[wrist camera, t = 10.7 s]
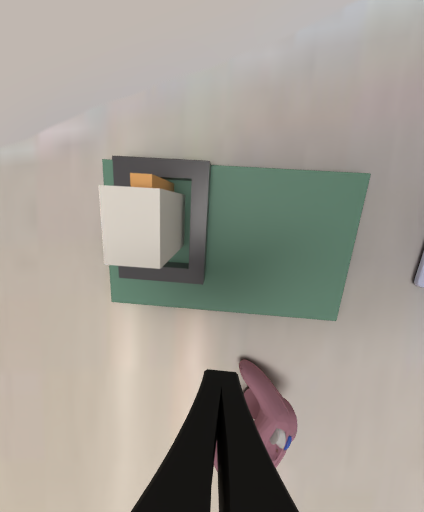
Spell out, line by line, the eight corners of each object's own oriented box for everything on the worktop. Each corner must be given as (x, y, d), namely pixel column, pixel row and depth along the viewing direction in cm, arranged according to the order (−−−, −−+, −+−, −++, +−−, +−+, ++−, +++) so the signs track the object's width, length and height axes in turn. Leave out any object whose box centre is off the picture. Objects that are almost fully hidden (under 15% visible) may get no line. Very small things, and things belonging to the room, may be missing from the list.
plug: (185, 184, 16) (159, 170, 10) (184, 245, 17) (160, 268, 11) (147, 181, 16) (97, 166, 10) (148, 242, 17) (104, 264, 11)
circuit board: (361, 175, 16) (370, 173, 15) (330, 315, 19) (336, 321, 18) (109, 161, 17) (102, 159, 16) (117, 297, 20) (111, 301, 19)
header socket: (211, 165, 15) (209, 160, 14) (205, 278, 18) (203, 284, 16) (122, 160, 16) (112, 155, 14) (127, 271, 18) (118, 277, 16)
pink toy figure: (219, 415, 24) (246, 500, 19) (187, 416, 22) (207, 513, 16) (270, 359, 22) (319, 436, 16) (240, 353, 20) (285, 440, 14)
